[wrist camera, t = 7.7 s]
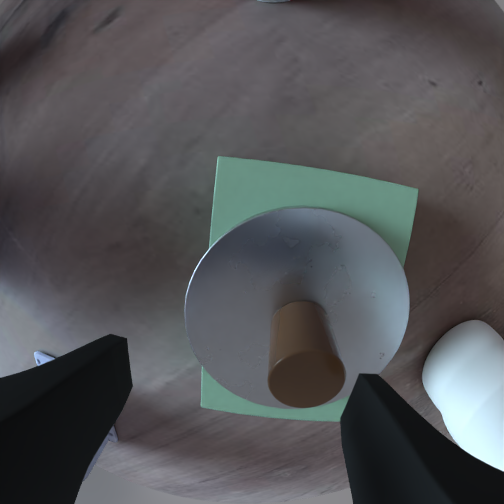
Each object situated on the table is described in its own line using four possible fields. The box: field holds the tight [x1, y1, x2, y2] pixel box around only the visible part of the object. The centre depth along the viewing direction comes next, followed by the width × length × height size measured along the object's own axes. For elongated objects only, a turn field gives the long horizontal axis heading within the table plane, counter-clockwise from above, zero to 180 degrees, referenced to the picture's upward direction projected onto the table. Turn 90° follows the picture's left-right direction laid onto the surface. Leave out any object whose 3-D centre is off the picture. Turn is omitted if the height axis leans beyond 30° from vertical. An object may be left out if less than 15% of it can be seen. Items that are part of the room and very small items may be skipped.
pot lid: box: [184, 205, 410, 409], centre depth 12 cm, size 11×11×5 cm
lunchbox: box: [201, 156, 419, 422], centre depth 16 cm, size 14×10×3 cm
